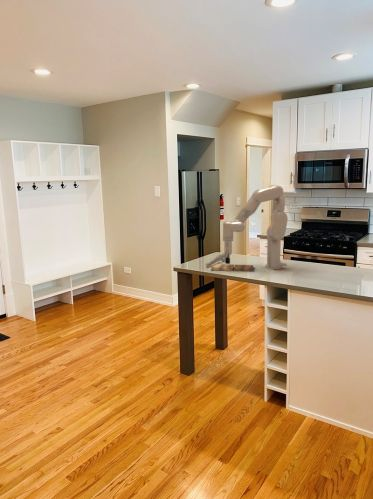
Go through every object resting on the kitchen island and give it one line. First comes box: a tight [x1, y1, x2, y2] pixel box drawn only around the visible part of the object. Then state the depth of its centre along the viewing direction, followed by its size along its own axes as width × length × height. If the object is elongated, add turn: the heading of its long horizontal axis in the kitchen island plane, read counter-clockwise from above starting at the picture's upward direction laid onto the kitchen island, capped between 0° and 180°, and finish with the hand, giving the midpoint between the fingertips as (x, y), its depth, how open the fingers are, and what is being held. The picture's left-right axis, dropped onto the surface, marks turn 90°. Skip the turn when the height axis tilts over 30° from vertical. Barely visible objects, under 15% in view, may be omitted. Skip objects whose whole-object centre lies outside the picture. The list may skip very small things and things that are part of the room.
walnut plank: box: [233, 264, 254, 272], centre depth 275 cm, size 13×11×2 cm
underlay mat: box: [210, 266, 256, 273], centre depth 277 cm, size 31×13×1 cm, turn 78°
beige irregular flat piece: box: [211, 263, 235, 272], centre depth 278 cm, size 15×11×2 cm
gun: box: [205, 252, 226, 269], centre depth 295 cm, size 2×30×8 cm, turn 142°
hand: (227, 263), depth 277 cm, fingers closed
